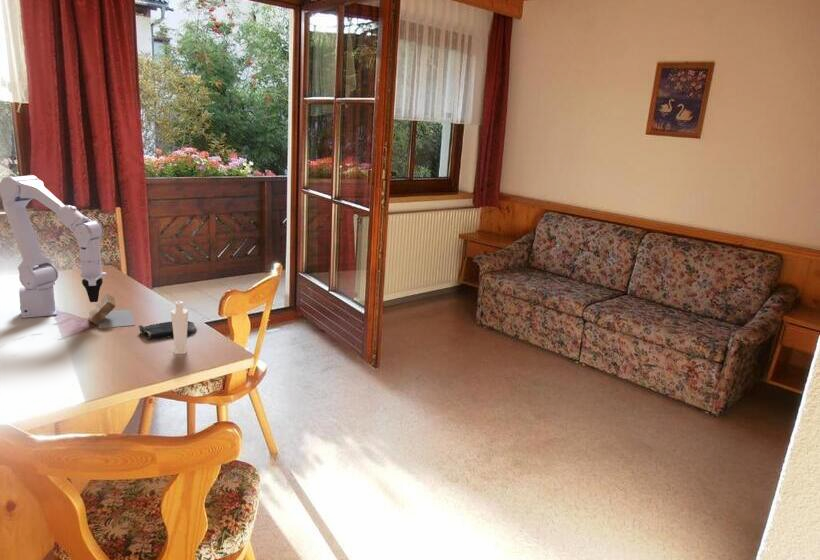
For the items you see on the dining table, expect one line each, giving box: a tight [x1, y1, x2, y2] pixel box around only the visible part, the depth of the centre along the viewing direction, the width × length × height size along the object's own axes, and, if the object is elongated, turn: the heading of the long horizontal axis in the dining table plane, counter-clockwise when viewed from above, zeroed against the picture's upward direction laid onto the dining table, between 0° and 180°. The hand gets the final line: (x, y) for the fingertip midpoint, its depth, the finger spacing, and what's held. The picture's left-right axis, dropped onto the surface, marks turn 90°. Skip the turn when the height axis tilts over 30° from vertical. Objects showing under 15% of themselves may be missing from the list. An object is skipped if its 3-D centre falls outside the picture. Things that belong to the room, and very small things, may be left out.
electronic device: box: [138, 320, 197, 341], centre depth 177 cm, size 10×6×15 cm
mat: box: [98, 308, 136, 330], centre depth 186 cm, size 10×16×1 cm, turn 29°
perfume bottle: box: [170, 300, 189, 355], centre depth 163 cm, size 5×4×15 cm
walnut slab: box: [89, 293, 116, 326], centre depth 183 cm, size 3×9×8 cm
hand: (93, 301), depth 181 cm, fingers closed
